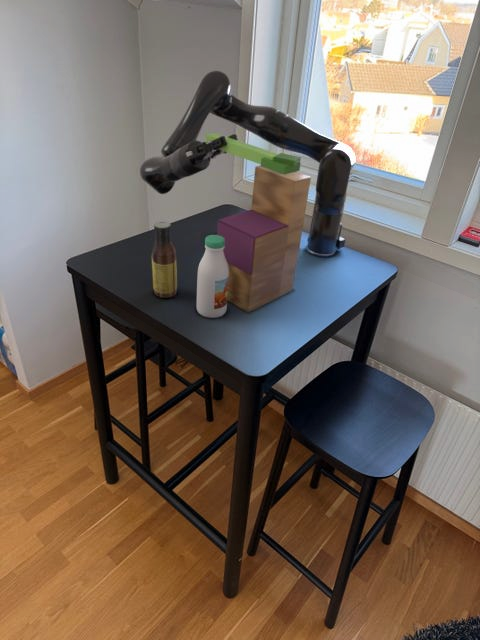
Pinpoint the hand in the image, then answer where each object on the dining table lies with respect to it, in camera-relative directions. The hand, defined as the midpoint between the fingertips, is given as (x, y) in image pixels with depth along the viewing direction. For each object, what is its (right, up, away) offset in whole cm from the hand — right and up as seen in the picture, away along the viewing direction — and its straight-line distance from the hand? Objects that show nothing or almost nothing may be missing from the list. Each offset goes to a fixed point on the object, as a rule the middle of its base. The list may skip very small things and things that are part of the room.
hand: (230, 139), depth 111 cm
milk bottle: (-5, -40, +9) cm, 42 cm away
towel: (+5, -27, +10) cm, 29 cm away
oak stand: (+6, -35, +18) cm, 40 cm away
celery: (+5, -5, -2) cm, 7 cm away
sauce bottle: (-18, -36, +14) cm, 42 cm away
